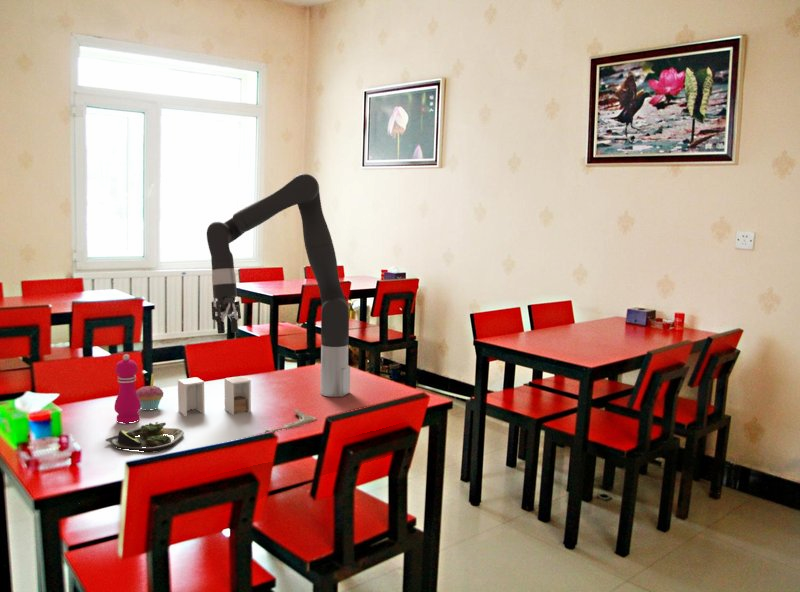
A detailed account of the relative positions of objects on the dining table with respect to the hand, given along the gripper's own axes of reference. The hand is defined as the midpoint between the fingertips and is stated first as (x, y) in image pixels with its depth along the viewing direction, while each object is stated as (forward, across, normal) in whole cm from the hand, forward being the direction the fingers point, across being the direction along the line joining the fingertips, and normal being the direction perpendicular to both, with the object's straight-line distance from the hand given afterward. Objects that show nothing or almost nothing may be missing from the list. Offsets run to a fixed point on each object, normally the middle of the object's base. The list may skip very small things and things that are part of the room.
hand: (228, 332), depth 225 cm
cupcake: (+22, -15, +21) cm, 34 cm away
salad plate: (+28, -39, +5) cm, 49 cm away
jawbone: (+29, -13, -23) cm, 39 cm away
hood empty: (+23, -14, +7) cm, 28 cm away
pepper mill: (+23, -27, +20) cm, 41 cm away
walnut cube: (+24, -7, -5) cm, 26 cm away
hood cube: (+24, -7, -5) cm, 26 cm away
